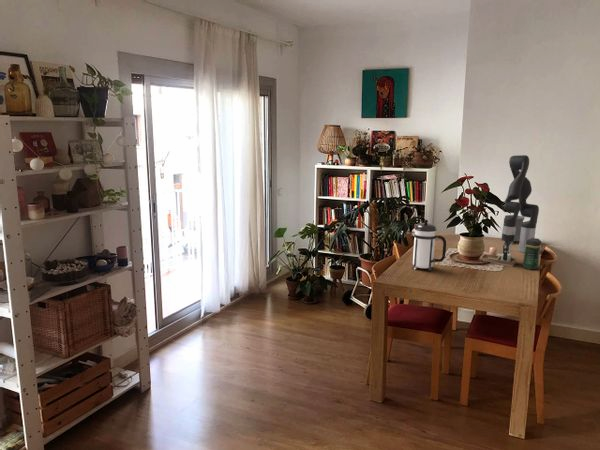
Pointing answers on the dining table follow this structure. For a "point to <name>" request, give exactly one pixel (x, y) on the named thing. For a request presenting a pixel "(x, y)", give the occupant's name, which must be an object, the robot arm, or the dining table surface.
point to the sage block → (507, 257)
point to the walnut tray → (497, 260)
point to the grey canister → (518, 227)
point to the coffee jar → (531, 253)
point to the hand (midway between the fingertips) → (505, 258)
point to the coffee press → (426, 246)
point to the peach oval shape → (493, 251)
